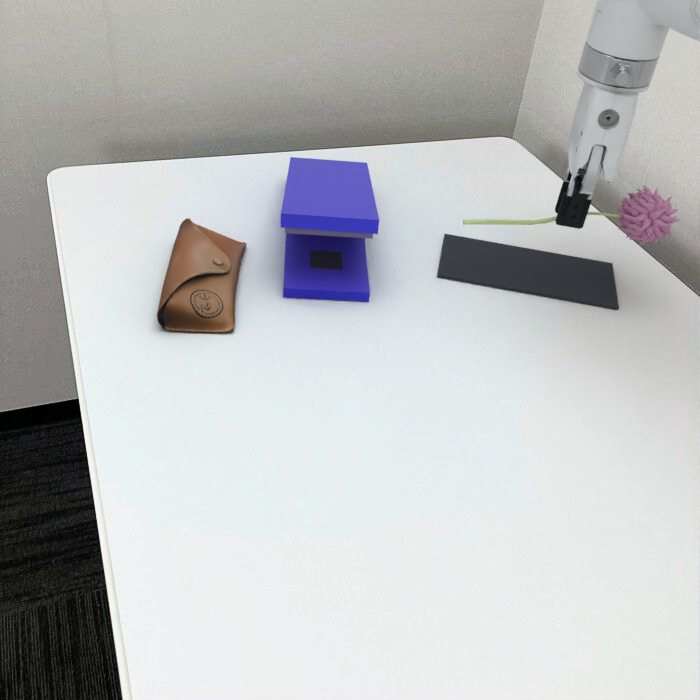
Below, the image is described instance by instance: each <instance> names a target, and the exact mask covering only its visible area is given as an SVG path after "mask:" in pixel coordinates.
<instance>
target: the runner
mask: <svg viewBox="0 0 700 700" xmlns="http://www.w3.org/2000/svg"><path fill="white" fill-rule="evenodd" d="M436 277H437V278H439V279H445V280H450V281H456V282H460V283H461V282H462V283H467V284H472V285H478V286H483V287H490V288H493V289H494V288H495V289H499V290H505V291H511V292H515V293H516V292H517V293H521V294H528V295H532V296H539V297H545V298H550V299H554V300H559V301H560V300H561V301H566V302H572V303H576V304H582V305H589V306H593V307H598V308H599V307H600V308H605V309H611V310H616V311H619V309H620V306H619V305H620V304H619V299H618V292H617V285H616V279H615V278H616V277H615V271H614V264H613V262H608V261H603V260H596V259H591V258H585V257H580V256H574V255H570V254H569V255H568V254H562V253H557V252H550V251H546V250H540V249H535V248H528V247H523V246H517V245H511V244H506V243H500V242H494V241H489V240H485V239H478V238H472V237H466V236H460V235H455V234H449V233H444V235H443V241H442V247H441V252H440V257H439V263H438V270H437V276H436Z"/></svg>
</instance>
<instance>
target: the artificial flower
mask: <svg viewBox="0 0 700 700" xmlns="http://www.w3.org/2000/svg"><path fill="white" fill-rule="evenodd" d="M642 187H643V188H642V189H641V188H637V189H636V191H638V192H629V193H627V195H628V197H629V198H628V197H622V199H623V200H622V201H621V203H622V204H621V206H620V205H619V204H617V209H618V214H616V213H608V212H600V211H588V213H587V216H604V217H613V218H617V219H616V221H615V222H620V223H621V224H622V225H618V226H617V229H618V230H620V231H621V232H623V234H625V235H626V236H625V238H629V240H630V241H638V242H639V244H640V247H642V245H643V244H644V243H647V242H653V245H654V247H656V244H657V242H658V241H659V240H660V239H662V240H663V241H664V242H665V241H666V239H665V238H666V235H667V236H668V237H669V238H672V235H671V234H674V233H675V231H673V230H672V229H671V226H672V224H674V223H676V222H679V221H680V219H677V216H676V215H674V216H672V215H673V214H675V213H677V211H679V208H677V209H676V208H675V209H672V202H671V199H672V196H670V197H668V198H667V199H666V200H665V199H663V197H662V196H661V195H662V194H661V193H660V194H659V191H658V187H656V189H655V191H654V192H653V191H652V190H651V189H650V188H649V187H648V186H646V185H642ZM556 217H557V215H555V216H552V217H546V218H540V219H509V218H479V219H478V218H475V219H463V220H462V225H502V226H503V225H505V226H506V225H508V226H509V225H517V226H519V225H520V226H521V225H526V226H528V225H529V226H531V225H532V226H533V225H543V224H548V223H551V222H556Z"/></svg>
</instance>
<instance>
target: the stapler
mask: <svg viewBox="0 0 700 700" xmlns="http://www.w3.org/2000/svg"><path fill="white" fill-rule="evenodd" d="M287 169H288V170H287V174H286V175H287V176H286V181H285V186H284V194H283V199H282V205H281V211H280V226H279V227H280V228H281V229H284V234H285V243H284V244H285V245H284V263H283V266H284V267H283V286H282V288H283V289H282V298H285V299H286V298H289V299H307V300H325V301H342V302H343V301H347V302H362V303H363V302H364V303H365V302H366V303H369V302H370V296H371V289H370V280H369V269H368V258H367V249H366V239H373V238H374V235H379V226H380V217H379V213H378V208H377V203H376V199H375V193H374V189H373V183H372V179H371V174H370V169H369V165H368V162H364V161H363V162H362V161H350V160H349V161H348V160H336V159H334V160H333V159H323V158H322V159H321V158H309V157H294V156H290V157H289V163H288V168H287Z"/></svg>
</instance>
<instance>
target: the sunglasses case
mask: <svg viewBox="0 0 700 700" xmlns="http://www.w3.org/2000/svg"><path fill="white" fill-rule="evenodd" d="M178 227H179V228H178V231H177V234H176V237H175V240H174V243H173V247H172V250H171V254H170V258H169V262H168V265H167V269H166V272H165V276H164V279H163V284H162V288H161V292H160V297H159V301H158V302H159V303H158V307H157V313H156V319H157V323H158V324H159V325H160V326H161V327H162V329H164V330H165V331H167V332H177V333H186V334H226V333H230V332H233V331H234V330H235V326H236V313H235V312H236V295H237V287H238V280H239V275H240V269H241V264H242V260H243V257H244V254H245V251H246V249H247V243H246V242H244V241H242V242H241V241H238V240H236V239H233V238H231V237H229V236H227V235H224V234H222V233H219V232H216V231H214V230H213V229H209V228H208V227H204V226H202V225H200V224H197V223H194V222H193V221H192V219H191V218H188V217H187V218H185V219H184V220H182V221H181V223H180V225H179V226H178Z"/></svg>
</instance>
